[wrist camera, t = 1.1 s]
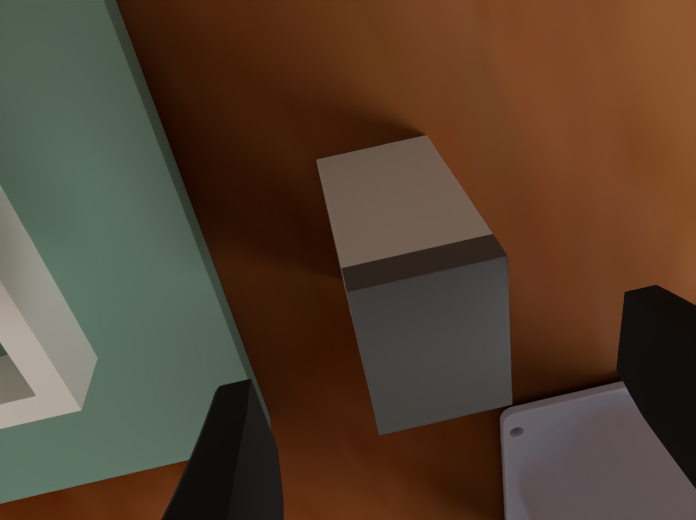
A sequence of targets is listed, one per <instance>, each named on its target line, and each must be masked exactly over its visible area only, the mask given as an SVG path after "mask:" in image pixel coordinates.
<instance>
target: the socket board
mask: <svg viewBox="0 0 696 520" xmlns="http://www.w3.org/2000/svg"><path fill="white" fill-rule="evenodd" d="M247 379H252V382H253V385H254V387H255V390H256V393H257V395H258V398H259V401H260V403H261V406H262V409H263V411H264V414H265V417H266V419H267V422H268V424H269V427H270V430H271V422H270V416H269V413H268V410H267V407H266V405H265V402H264V399H263V397H262V394H261V391H260V389H259V386H258V383H257V380H256V378H255V375H254V372H253V370H252V367H251V364H250V361H249V359H248V356H247V353H246V351H245V348H244V345H243V343H242V340H241V337H240V334H239V332H238V329H237V326H236V324H235V321H234V318H233V316H232V313H231V310H230V307H229V305H228V302H227V299H226V297H225V294H224V291H223V288H222V286H221V283H220V280H219V278H218V275H217V272H216V270H215V267H214V264H213V261H212V259H211V256H210V253H209V251H208V248H207V245H206V242H205V240H204V237H203V234H202V232H201V229H200V226H199V224H198V221H197V218H196V215H195V213H194V210H193V207H192V205H191V202H190V199H189V197H188V194H187V191H186V188H185V186H184V183H183V180H182V178H181V175H180V172H179V169H178V167H177V164H176V161H175V159H174V156H173V153H172V151H171V148H170V145H169V142H168V140H167V137H166V134H165V132H164V129H163V126H162V123H161V121H160V118H159V115H158V113H157V110H156V107H155V105H154V102H153V99H152V96H151V94H150V91H149V88H148V86H147V83H146V80H145V78H144V75H143V72H142V69H141V67H140V64H139V61H138V59H137V56H136V53H135V50H134V48H133V45H132V42H131V40H130V37H129V34H128V32H127V29H126V26H125V23H124V21H123V18H122V15H121V13H120V10H119V7H118V4H117V2H116V0H0V503H4V502H9V501H13V500H17V499H22V498H26V497H30V496H35V495H39V494H43V493H48V492H52V491H56V490H61V489H65V488H69V487H73V486H78V485H82V484H86V483H91V482H95V481H99V480H104V479H108V478H112V477H117V476H121V475H125V474H130V473H134V472H138V471H143V470H147V469H151V468H155V467H160V466H164V465H168V464H173V463H177V462H181V461H186V460H189V459H190V457H191V454H192V452H193V449H194V447H195V444H196V442H197V439H198V437H199V435H200V432H201V429H202V427H203V424H204V422H205V419H206V416H207V413H208V411H209V408H210V405H211V402H212V399H213V396H214V393H215V391H216V390H217V388H218V387H219V386H221V385H225V384H230V383H234V382H238V381H243V380H247Z"/></svg>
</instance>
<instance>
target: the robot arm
mask: <svg viewBox="0 0 696 520" xmlns="http://www.w3.org/2000/svg"><path fill="white" fill-rule="evenodd" d="M616 369H617V371H618V373H619V375H620V377H621V379H622V381H621V382H616V383H612V384H608V385H603V386H599V387H595V388H590V389H586V390H582V391H578V392H573V393H569V394H565V395H560V396H556V397H552V398H547V399H543V400H539V401H535V402H530V403H526V404H522V405H517V406H513V407H510V408H508V409H506V410H505V411H504V412H503V413H502V414H501V416H500V433H501V453H502V473H503V493H504V513H505V520H696V305H694V304H692V303H690V302H688V301H687V300H685V299H683V298H681V297H679V296H677V295H675V294H673V293H671V292H669V291H668V290H666V289H664V288H662V287H660V286H658V285H653V286H649V287H644V288H640V289H636V290H632V291H627V292H625V295H624V304H623V313H622V322H621V332H620V341H619V350H618V359H617V368H616ZM161 520H284V514H283V492H282V482H281V473H280V465H279V456H278V448H277V446H276V443H275V440H274V438H273V435H272V432H271V430H270V427H269V424H268V422H267V419H266V417H265V414H264V411H263V409H262V406H261V403H260V401H259V398H258V395H257V393H256V390H255V387H254V385H253V382H252V379H247V380H243V381H238V382H234V383H230V384H225V385H221V386H219V387H218V388H217V390H216V391H215V393H214V396H213V399H212V402H211V405H210V408H209V411H208V413H207V416H206V419H205V422H204V424H203V427H202V429H201V432H200V435H199V437H198V439H197V442H196V444H195V447H194V449H193V452H192V454H191V457H190V459H189V461H188V463H187V466H186V468H185V470H184V473H183V475H182V477H181V479H180V482H179V484H178V486H177V488H176V491H175V493H174V495H173V497H172V499H171V501H170V503H169V505H168V507H167V509H166V511H165V513H164V515H163V517H162V519H161Z"/></svg>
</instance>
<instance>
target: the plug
mask: <svg viewBox="0 0 696 520" xmlns="http://www.w3.org/2000/svg"><path fill="white" fill-rule="evenodd" d="M316 162H317V166H318V171H319V175H320V180H321V184H322V189H323V193H324V197H325V202H326V206H327V211H328V215H329V220H330V224H331V229H332V233H333V237H334V242H335V246H336V251H337V255H338V260H339V264H340V269H341V273H342V277H343V282H344V286H345V290H346V295H347V299H348V303H349V308H350V312H351V316H352V321H353V325H354V329H355V334H356V338H357V342H358V347H359V351H360V355H361V360H362V364H363V368H364V373H365V377H366V381H367V386H368V390H369V394H370V398H371V403H372V407H373V411H374V416H375V420H376V424H377V429H378V433H379V436H380V435H384V434H388V433H393V432H397V431H401V430H406V429H410V428H414V427H419V426H423V425H427V424H431V423H436V422H440V421H444V420H449V419H453V418H457V417H462V416H466V415H470V414H474V413H479V412H483V411H487V410H492V409H496V408H500V407H505V406H509V405H512V378H511V347H510V316H509V284H508V256H507V254H506V253H505V251H504V250H503V248H502V247H501V245H500V244H499V242H498V241H497V239H496V238H495V236H494V235H493V233H492V232H491V230H490V229H489V227H488V226H487V224H486V223H485V221H484V220H483V218H482V217H481V215H480V214H479V212H478V211H477V210H476V208H475V207H474V205H473V204H472V202H471V201H470V199H469V198H468V196H467V195H466V193H465V192H464V190H463V189H462V187H461V186H460V184H459V183H458V181H457V180H456V178H455V177H454V175H453V174H452V172H451V171H450V169H449V168H448V166H447V165H446V163H445V162H444V160H443V159H442V157H441V156H440V154H439V153H438V151H437V150H436V148H435V147H434V145H433V144H432V142H431V141H430V139H429V138H428V136H427V135H424V136H420V137H415V138H411V139H406V140H402V141H397V142H393V143H389V144H384V145H380V146H375V147H371V148H366V149H362V150H357V151H353V152H348V153H344V154H339V155H335V156H330V157H326V158H321V159H317V160H316Z"/></svg>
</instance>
